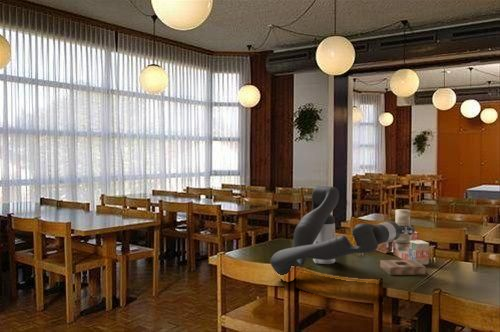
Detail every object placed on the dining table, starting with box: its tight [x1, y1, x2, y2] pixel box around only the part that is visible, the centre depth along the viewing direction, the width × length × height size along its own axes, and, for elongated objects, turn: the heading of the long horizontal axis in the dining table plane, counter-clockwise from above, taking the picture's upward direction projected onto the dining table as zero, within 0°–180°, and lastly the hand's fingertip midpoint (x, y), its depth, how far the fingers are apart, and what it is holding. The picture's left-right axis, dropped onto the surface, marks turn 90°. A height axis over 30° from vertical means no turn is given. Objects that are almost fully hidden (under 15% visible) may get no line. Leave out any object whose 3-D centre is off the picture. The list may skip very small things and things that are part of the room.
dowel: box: [395, 208, 411, 251], centre depth 190 cm, size 6×6×16 cm
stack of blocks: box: [392, 231, 430, 265], centre depth 211 cm, size 21×6×12 cm, turn 9°
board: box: [379, 259, 426, 276], centre depth 191 cm, size 14×12×3 cm
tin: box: [375, 241, 393, 254], centre depth 227 cm, size 15×3×8 cm, turn 13°
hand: (405, 226), depth 192 cm, fingers closed on dowel, 5 cm apart
